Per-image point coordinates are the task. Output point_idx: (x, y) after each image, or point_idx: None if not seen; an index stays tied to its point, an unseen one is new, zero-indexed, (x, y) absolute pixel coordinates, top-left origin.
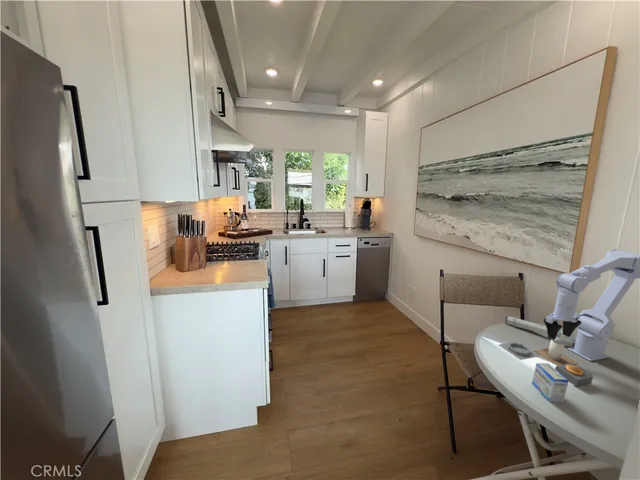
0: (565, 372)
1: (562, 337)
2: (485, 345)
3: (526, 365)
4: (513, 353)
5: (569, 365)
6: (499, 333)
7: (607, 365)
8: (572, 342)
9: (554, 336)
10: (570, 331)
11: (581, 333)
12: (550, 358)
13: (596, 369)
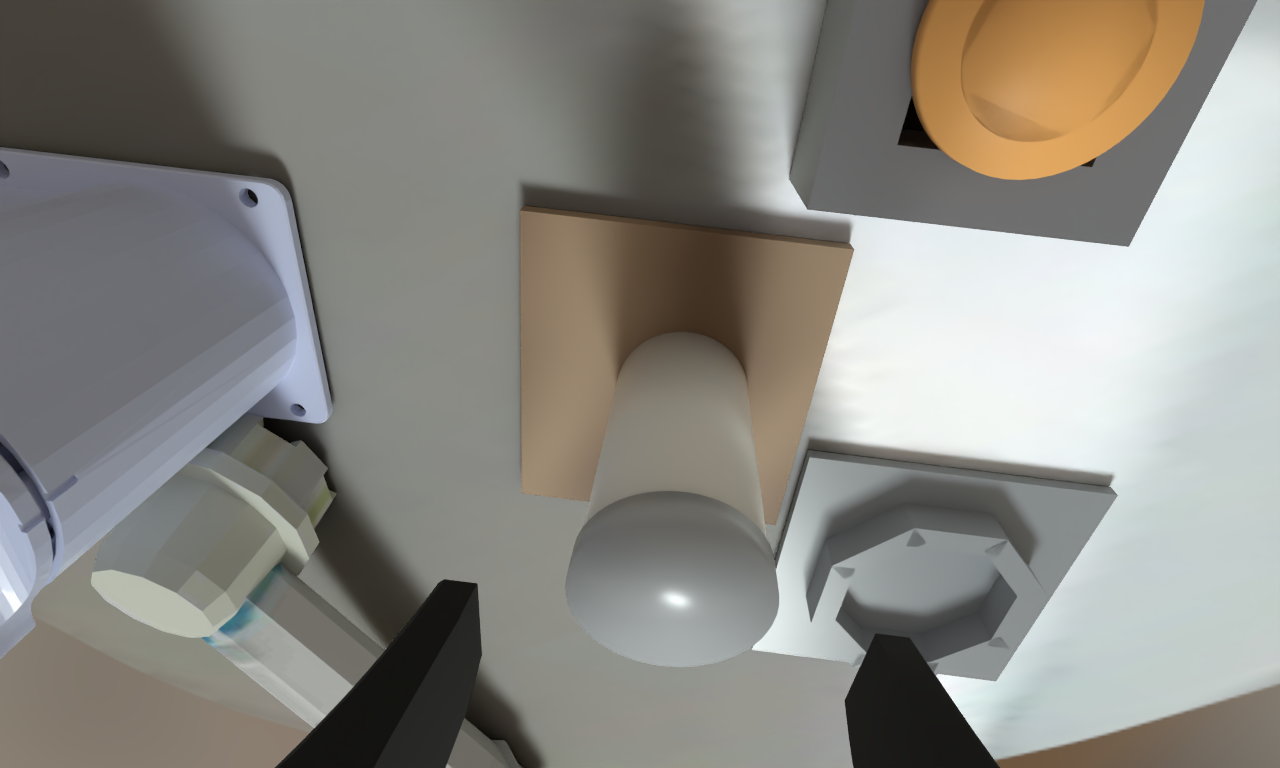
0: (1202, 86)
1: (268, 550)
2: (1099, 706)
3: (1162, 418)
4: (1039, 571)
5: (984, 155)
6: (747, 741)
7: (114, 34)
8: (220, 459)
9: (966, 723)
10: (415, 716)
11: (43, 548)
12: (757, 390)
13: (376, 37)
